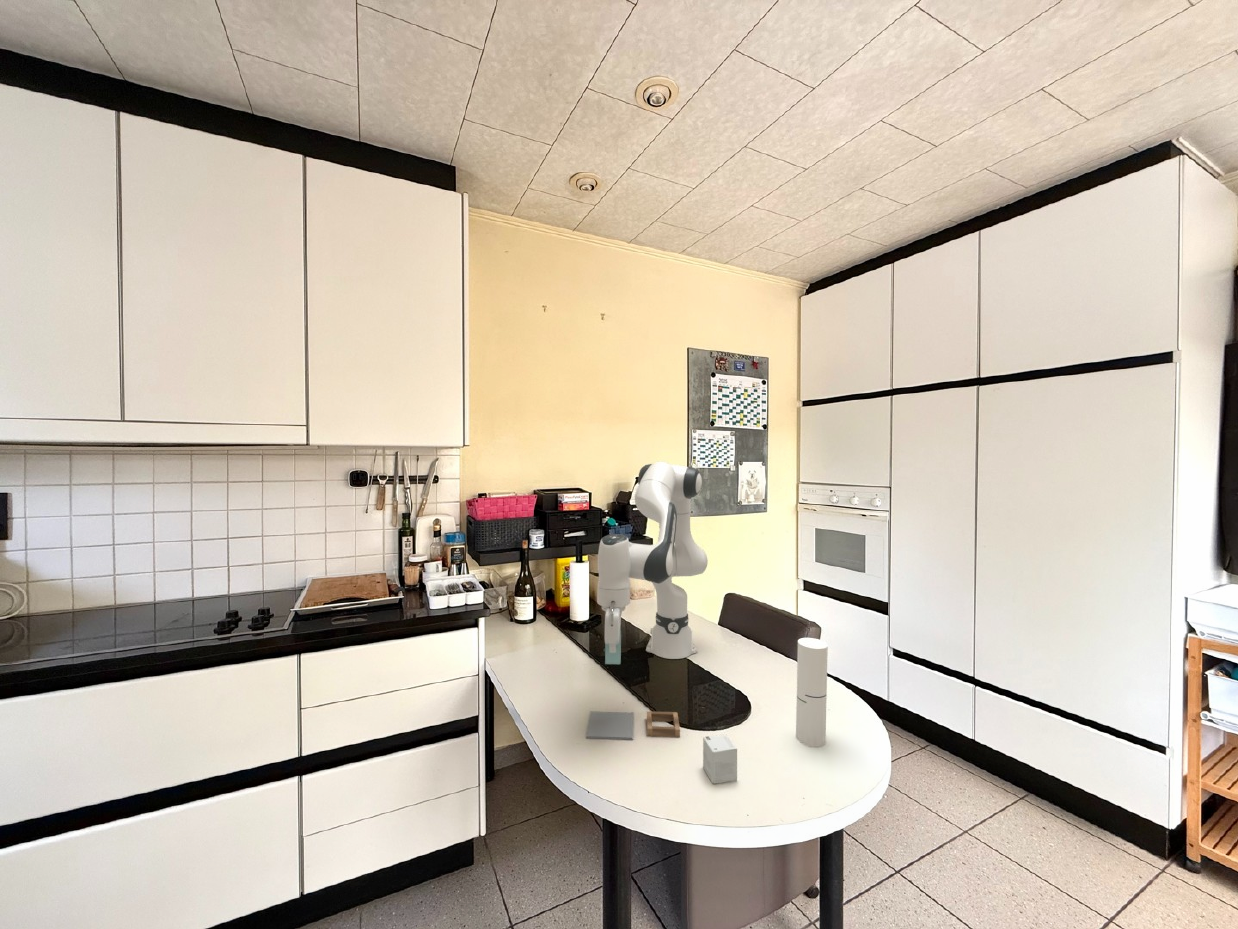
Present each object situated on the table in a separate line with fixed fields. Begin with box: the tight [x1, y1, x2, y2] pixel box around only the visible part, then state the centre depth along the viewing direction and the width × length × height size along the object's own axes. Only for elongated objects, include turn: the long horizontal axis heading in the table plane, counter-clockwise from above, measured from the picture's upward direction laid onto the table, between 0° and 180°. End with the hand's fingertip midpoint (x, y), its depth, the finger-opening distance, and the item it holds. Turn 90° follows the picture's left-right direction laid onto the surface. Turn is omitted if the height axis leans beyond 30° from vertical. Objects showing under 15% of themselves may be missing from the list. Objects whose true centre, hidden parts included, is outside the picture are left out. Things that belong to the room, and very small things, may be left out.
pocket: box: [646, 711, 681, 738], centre depth 130 cm, size 8×8×2 cm
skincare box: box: [702, 733, 738, 785], centre depth 111 cm, size 6×6×7 cm
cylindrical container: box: [795, 637, 829, 748], centre depth 125 cm, size 7×7×25 cm
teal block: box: [604, 628, 622, 665], centre depth 130 cm, size 4×4×8 cm
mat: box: [585, 710, 634, 741], centre depth 130 cm, size 12×12×1 cm
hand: (613, 647), depth 130 cm, fingers closed on teal block, 4 cm apart
